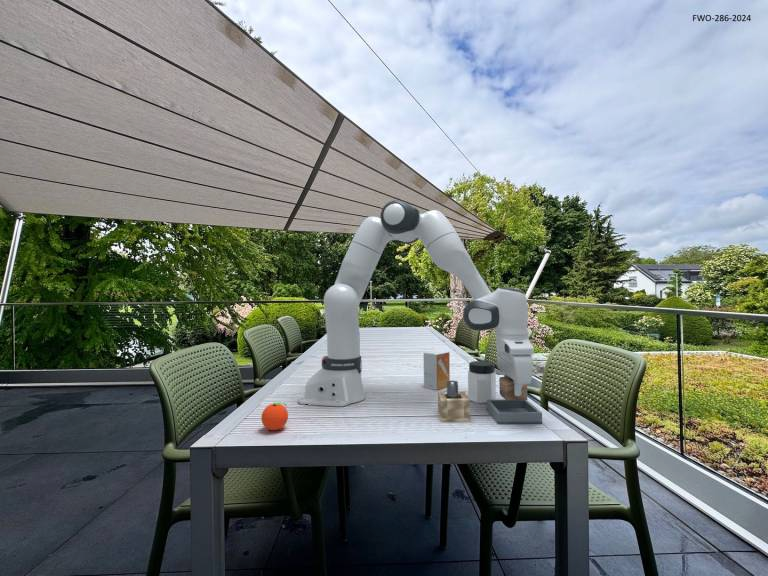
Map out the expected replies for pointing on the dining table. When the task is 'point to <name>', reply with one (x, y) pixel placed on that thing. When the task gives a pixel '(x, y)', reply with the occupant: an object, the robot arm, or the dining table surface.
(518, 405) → the tray
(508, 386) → the walnut block
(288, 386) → the dining table surface
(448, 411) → the beech block
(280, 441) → the dining table surface
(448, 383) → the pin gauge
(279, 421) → the clementine
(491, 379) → the jar
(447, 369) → the small box
